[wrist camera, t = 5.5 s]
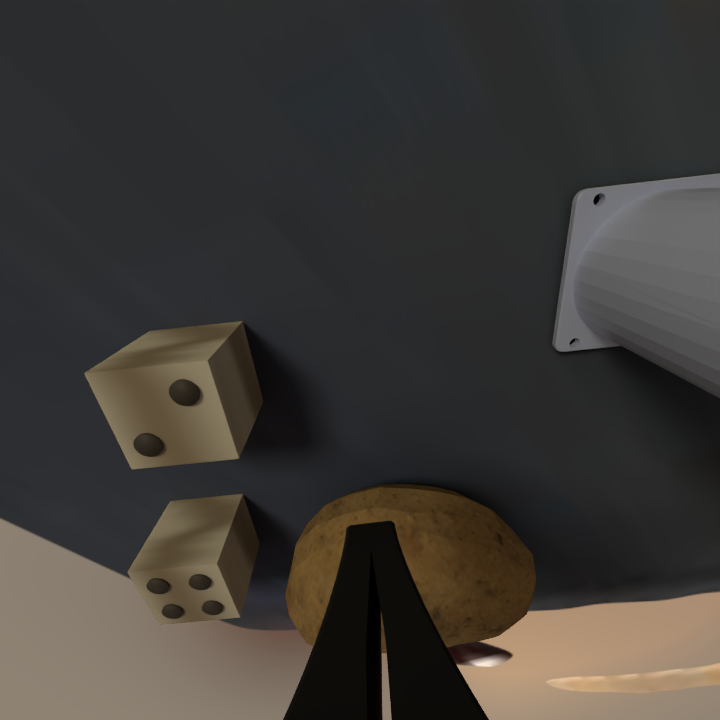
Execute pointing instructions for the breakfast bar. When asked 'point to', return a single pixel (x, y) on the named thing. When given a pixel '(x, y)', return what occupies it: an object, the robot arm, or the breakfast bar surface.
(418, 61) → the breakfast bar surface
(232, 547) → the pip block four
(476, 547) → the potato
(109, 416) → the pip block two
